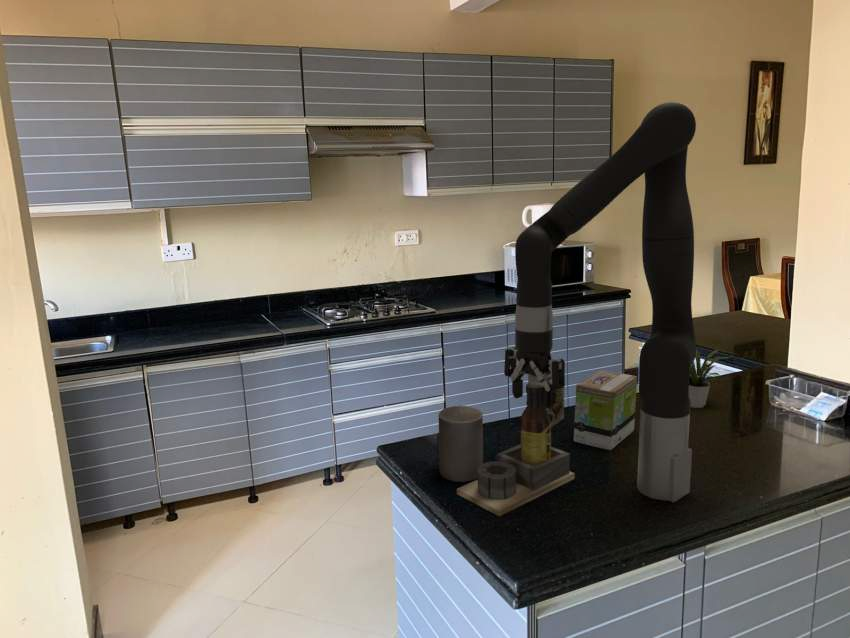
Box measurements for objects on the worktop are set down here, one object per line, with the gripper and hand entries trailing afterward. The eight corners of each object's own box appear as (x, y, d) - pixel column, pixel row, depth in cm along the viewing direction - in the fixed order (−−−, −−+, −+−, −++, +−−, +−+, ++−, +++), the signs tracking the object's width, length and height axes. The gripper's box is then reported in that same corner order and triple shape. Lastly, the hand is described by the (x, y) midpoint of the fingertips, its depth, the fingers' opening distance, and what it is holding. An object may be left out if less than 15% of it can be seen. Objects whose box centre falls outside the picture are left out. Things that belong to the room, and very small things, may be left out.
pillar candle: (433, 466, 145) (431, 404, 141) (472, 459, 148) (471, 397, 145) (449, 486, 136) (448, 419, 132) (491, 477, 139) (490, 412, 136)
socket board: (574, 478, 137) (575, 453, 136) (499, 516, 123) (499, 489, 122) (531, 460, 146) (531, 437, 145) (456, 494, 132) (456, 468, 131)
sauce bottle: (553, 481, 134) (554, 390, 129) (523, 482, 134) (523, 391, 129) (547, 467, 140) (548, 380, 136) (518, 468, 140) (519, 380, 136)
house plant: (731, 401, 179) (736, 344, 176) (724, 417, 168) (729, 357, 165) (678, 393, 187) (681, 338, 183) (667, 408, 176) (670, 350, 172)
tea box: (612, 452, 150) (615, 391, 146) (572, 442, 156) (573, 384, 152) (635, 430, 161) (638, 374, 158) (597, 422, 167) (598, 368, 164)
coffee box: (549, 430, 163) (550, 369, 160) (526, 425, 167) (527, 365, 164) (565, 419, 170) (566, 360, 167) (542, 414, 174) (543, 356, 171)
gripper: (574, 328, 127) (572, 406, 131) (520, 318, 138) (519, 390, 142) (549, 335, 123) (548, 415, 126) (495, 323, 133) (496, 398, 137)
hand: (533, 402), depth 134 cm, fingers open, 8 cm apart
